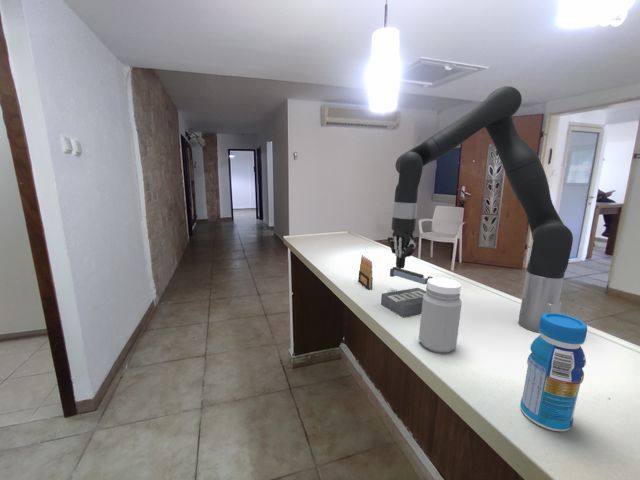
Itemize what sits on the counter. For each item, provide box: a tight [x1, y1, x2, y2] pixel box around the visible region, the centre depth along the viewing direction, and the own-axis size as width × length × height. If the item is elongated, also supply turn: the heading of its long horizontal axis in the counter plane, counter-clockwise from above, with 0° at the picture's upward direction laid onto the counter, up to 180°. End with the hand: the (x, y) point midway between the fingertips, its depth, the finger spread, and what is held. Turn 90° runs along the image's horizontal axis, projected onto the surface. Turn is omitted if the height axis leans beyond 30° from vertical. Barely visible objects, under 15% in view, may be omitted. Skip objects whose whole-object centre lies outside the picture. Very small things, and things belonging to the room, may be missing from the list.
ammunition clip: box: [357, 255, 374, 291], centre depth 130 cm, size 11×2×12 cm, turn 15°
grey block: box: [380, 275, 434, 319], centre depth 109 cm, size 12×18×10 cm
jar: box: [418, 276, 463, 354], centre depth 83 cm, size 10×10×18 cm
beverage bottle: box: [519, 313, 588, 432], centre depth 58 cm, size 8×8×20 cm
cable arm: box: [389, 266, 428, 285], centre depth 119 cm, size 2×15×4 cm, turn 41°
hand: (399, 267), depth 105 cm, fingers closed
